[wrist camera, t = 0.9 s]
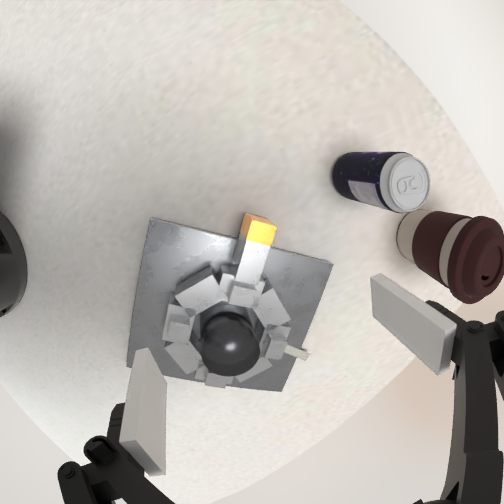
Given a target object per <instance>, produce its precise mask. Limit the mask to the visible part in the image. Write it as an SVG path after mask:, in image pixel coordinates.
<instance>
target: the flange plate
mask: <svg viewBox="0 0 504 504" xmlns="http://www.w3.org/2000/svg"><path fill="white" fill-rule="evenodd" d="M237 241H238V239H237V238H233V237H229V236H225V235H221V234H217V233H213V232H209V231H205V230H201V229H197V228H193V227H189V226H185V225H181V224H177V223H173V222H169V221H165V220H160V219H156V218H151V219H150V224H149V228H148V233H147V238H146V242H145V247H144V252H143V257H142V263H141V268H140V274H139V279H138V285H137V291H136V297H135V304H134V310H133V317H132V324H131V332H130V340H129V348H128V357H127V367H129V368H132V366H133V361H134V357H135V352H136V350H140V349H144V348H149V350H150V352H151V354H152V356H153V358H154V360H155V362H156V364H157V366H158V368H159V370H160V371H161V373H162V375H165V376H170V377H175V378H180V379H186V380H191V381H197V382H203V383H205V380H200V379H195V377H194V371H193V372H191V373H189V374H186V373H185V372H184V371H183V370H182V368H181V367H180V366H179V365H178V364H177V363H176V361H175V360H174V359H173V358H172V357H171V355H170V354H169V353H168V352H167V351H166V349H165V348H164V345H165V340H162V336H163V330H164V324H165V319H166V314H167V309H168V304H169V299H170V295H171V293H174V294H175V291H176V285H178V284H180V283H181V282H183V281H185V280H187V279H188V278H190V277H192V276H194V275H195V274H197V273H199V272H200V271H202V270H204V269H206V268H207V267H209V266H212V268H213V270H214V271H215V273H216V274H217V276H218V272H219V269H220V265H221V264H223V265H227V266H231V262H232V259H233V255H234V252H235V248H236V245H237ZM332 267H333V264H332V263H330V262H327V261H324V260H320V259H316V258H312V257H308V256H304V255H300V254H296V253H292V252H289V251H285V250H281V249H277V248H273V247H270V249H269V252H268V255H267V258H266V262H265V265H264V268H263V271H262V274H261V276H262V278H263V279H264V280H265V279H268V281H269V282H270V284H271V286H272V287H273V289H274V291H275V292H276V294H277V296H278V298H279V300H280V301H281V303H282V305H283V307H284V308H285V310H286V312H287V314H288V315H289V317H290V319H291V320H289V321H288V323H289V325H290V326H291V330H290V332H289V335H288V337H287V342H288V343H287V346H286V348H285V351H284V353H283V356H282V358H281V359H279V360H277V359H270V360H271V363H272V365H273V366H271V367H270V368H268V369H266V370H264V371H262V372H260V373H258V374H256V375H254V376H252V377H250V378H248V379H246V380H244V381H242V382H239V381H238V380H237V378H236V377H235V376H238V375H241V374H243V373H246V372H247V371H249V370H250V369H251V368H253V367H254V365H255V364H256V363H257V361H258V359H259V356H260V346H259V343H258V340H257V337H256V335H255V330H256V327H257V324H258V321H259V318H258V316H257V315H256V313H255V311H254V310H253V308H252V307H251V308H247V307H242V306H237V305H232V304H229V303H228V302H226V301H220V302H218V303H216V304H215V305H213V306H211V307H209V308H207V309H206V310H204V311H202V312H200V313H198V314H196V315H195V318H194V322H193V326H192V332H193V333H194V334H195V336H196V337H197V338H198V340H199V341H200V342H201V357H202V361H203V363H204V365H205V366H206V367H207V368H208V369H209V370H210V371H211V372H213V373H215V374H217V375H220V376H227V377H231V376H234V377H233V380H232V383H231V384H227V383H226V386H231V387H239V388H248V389H257V390H267V391H278V392H282V389H283V387H284V385H285V383H286V381H287V378H288V376H289V374H290V372H291V369H292V367H293V365H294V363H295V360H296V358H300V359H302V360H305V361H306V359H307V358H308V357H309V355H310V353H307V352H305V351H302V350H300V349H301V346H302V344H303V341H304V339H305V337H306V334H307V332H308V329H309V327H310V324H311V322H312V319H313V317H314V314H315V312H316V309H317V307H318V304H319V302H320V299H321V296H322V294H323V291H324V288H325V286H326V283H327V280H328V278H329V275H330V272H331V270H332Z"/></svg>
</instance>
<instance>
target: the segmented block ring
mask: <svg viewBox="0 0 504 504" xmlns="http://www.w3.org/2000/svg"><path fill="white" fill-rule="evenodd" d="M276 229H277V226H276V225H274V224H273V223H272V222H271V221H269V220H268V219H267V218H263V217H259V216H256V215H252V214H248V213H245V216H244V219H243V222H242V226H241V229H240V235H239V238H238V241H237V245H236V248H235V252H234V255H233V259H232V262H231V266H227V265H223V264H221V265H220V269H219V272H218V276H217V274H216V273H215V271H214V270H213V268H212V266H209V267H207V268H206V269H204V270H202V271H200V272H199V273H197V274H195V275H194V276H192V277H190V278H188V279H187V280H185V281H183V282H181V283H180V284H178V285H176V291H175V294H174V293H171V295H170V299H169V304H168V309H167V314H166V319H165V324H164V330H163V336H162V340H165V345H164V348H165V349H166V351H167V352H168V353H169V354H170V355H171V357H172V358H173V359H174V360H175V361H176V363H177V364H178V365H179V366H180V367H181V368H182V370H183V371H184V372H185V373H186V374H189V373H191V372H193V371H194V377H195V379H200V380H205V385H206V386H213V387H220V388H225V386H226V383H227V384H231V383H232V380H233V377H234V376H231V377H227V376H220V375H217V374H215V373H213V372H211V371H210V370H209V369H208V368H207V367H206V366H205V365H204V363H203V361H202V357H201V342H200V341H199V340H198V338H197V337H196V336H195V334H194V333H193V332H192V326H193V322H194V318H195V315H196V314H198V313H200V312H202V311H204V310H206V309H207V308H209V307H211V306H213V305H215V304H216V303H218V302H220V301H226V302H228V303H229V304H232V305H237V306H242V307H247V308H251V307H252V308H253V310H254V311H255V313H256V315H257V316H258V318H259V321H258V324H257V327H256V330H255V335H256V337H257V340H258V343H259V346H260V356H259V359H258V361H257V363H256V364H255V365H254V367H253V368H251V369H250V370H249V371H247V372H246V373H243V374H241V375H238V376H235V377H236V378H237V380H238V381H239V382H242V381H244V380H246V379H248V378H250V377H252V376H254V375H256V374H258V373H260V372H262V371H264V370H266V369H268V368H270V367H271V366H273V365H272V363H271V360H270V359H277V360H279V359H281V358H282V356H283V353H284V351H285V348H286V346H287V343H288V342H287V337H288V335H289V332H290V330H291V326H290V325H289V323H288V321H289V320H291V319H290V317H289V315H288V314H287V312H286V310H285V308H284V307H283V305H282V303H281V301H280V300H279V298H278V296H277V294H276V292H275V291H274V289H273V287H272V286H271V284H270V282H269V281H268V279H265V280H264V279H263V278H262V276H261V274H262V271H263V268H264V265H265V262H266V258H267V255H268V252H269V249H270V246H271V245H272V242H273V238H274V235H275V232H276Z"/></svg>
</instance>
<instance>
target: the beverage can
mask: <svg viewBox="0 0 504 504" xmlns="http://www.w3.org/2000/svg"><path fill="white" fill-rule="evenodd" d="M333 181H334V185H335V187H336V189H337V191H338V192H339V193H340V194H341V195H342V196H344V197H345V198H348V199H351V200H355V201H358V202H362V203H366V204H369V205H373V206H376V207H380V208H383V209H386V210H390V211H393V212H396V213H406V212H409V211H414V210H417V209H419V208H420V207H421V206H422V205H423V204H424V203H425V201H426V200H427V197H428V195H429V191H430V177H429V173H428V170H427V168H426V166H425V165H424V164H423V163H422V162H421V161H420V160H419V159H417V158H415V157H413V156H412V155H410V154H408V153H405V152H351V153H347V154H345V155H343V156H342V157H340V158H339V159H338V161H337V162H336V164H335V166H334V170H333Z"/></svg>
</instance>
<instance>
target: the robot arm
mask: <svg viewBox="0 0 504 504" xmlns="http://www.w3.org/2000/svg"><path fill="white" fill-rule="evenodd" d="M370 281H371V294H372V311H373V317H374V318H375V319H376V320H378V321H379V322H380V323H381V324H382V325H383V326H384V327H385V328H386V329H387V330H389V331H390V332H391V333H392V334H393V335H394V336H395V337H396V338H397V339H398V340H400V341H401V342H402V343H403V344H404V345H405V346H406V347H407V348H408V349H409V350H410V351H412V352H413V353H414V354H415V355H416V356H417V357H418V358H419V359H420V360H421V361H422V362H423V363H424V364H425V365H427V366H428V367H429V368H430V369H431V370H432V371H433V372H434V373H435V374H436V375H437V376H439V375H441V374H442V373H444V372H445V371H447V370H448V369H449V367H450V362H451V360H452V361H453V362H454V363H455V364H456V365H455V370H454V374H453V378H452V379H453V380H454V379H455V389H454V393H455V394H454V415H453V429H452V440H451V448H450V457H449V464H448V471H447V477H446V482H445V486H444V489H443V492H442V494H441V498H440V500H435V501H430V502H425V503H423V502H422V500H421V499H420V500H418V501H417V502H415V503H413V504H500V502H501V492H502V480H503V452H502V451H499V449H498V416H497V399H496V388H495V380H496V382H497V385H498V387H499V389H500V393H501V395H502V398H503V400H504V311H500V312H498V313H497V314H496V317H495V321H494V322H491V323H488V324H485V325H484V324H483V323H482V322H479V321H468V322H466V321H465V320H463V319H462V318H460V317H458V316H457V315H456V314H454V313H453V312H451V311H449V310H448V309H447V308H444V306H442V305H441V304H439V303H437V302H434V301H430V300H428V301H426V302H424V301H422V300H421V299H419V298H418V297H416V296H415V295H413V294H412V293H410V292H409V291H407V290H406V289H404V288H403V287H401V286H400V285H398V284H397V283H395V282H394V281H392V280H391V279H389V278H387V277H386V276H384V275H383V274H381V273H380V274H377V275H375V276H372V277H370ZM26 282H27V265H26V258H25V253H24V250H23V246H22V244H21V241H20V239H19V236H18V234H17V232H16V231H15V229H14V227H13V226H12V224H11V223H10V222H9V220H8V219H7V218H6V217H5V216H4V215H3V214H2V213H1V212H0V317H2V316H4V315H6V314H7V313H9V312H10V311H11V310H12V309H13V308H14V307H15V306H16V305H17V304H18V303H19V302H20V300H21V298H22V296H23V294H24V291H25V288H26ZM494 378H495V379H494ZM166 394H167V383H166V381H165V379H164V377H163V375H162V373H161V371H160V370H159V368H158V366H157V364H156V362H155V360H154V358H153V356H152V354H151V352H150V350H149V348H144V349H140V350H136V352H135V357H134V361H133V366H132V371H131V376H130V381H129V386H128V391H127V397H126V402H125V403H120V404H116V406H115V407H114V409H113V410H112V412H111V417H110V422H109V427H108V432H107V437H105V436H95V437H93V438H91V439H90V440H89V441H88V442H86V444H85V446H84V454H85V456H86V457H87V458H88V459H89V460H90V461H91V462H92V463H90V464H87V465H84V466H80V465H79V464H78V463H76V462H72V461H70V462H66V463H64V464H63V465H62V466H61V467H60V468H59V470H58V481H59V485H60V489H61V492H62V496H63V500H64V502H65V504H116V503H115V501H114V500H117V499H120V498H123V500H124V501H125V502H126V503H127V504H175V503H174V502H172V501H171V500H170V499H169V498H168V497H166V496H165V495H164V494H163V493H162V492H161V491H160V490H158V489H157V488H156V487H155V486H154V485H153V484H152V483H151V482H150V481H149V480H147V479H146V478H145V477H144V470H145V472H146V473H147V474H148V475H149V476H158V475H166Z"/></svg>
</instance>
